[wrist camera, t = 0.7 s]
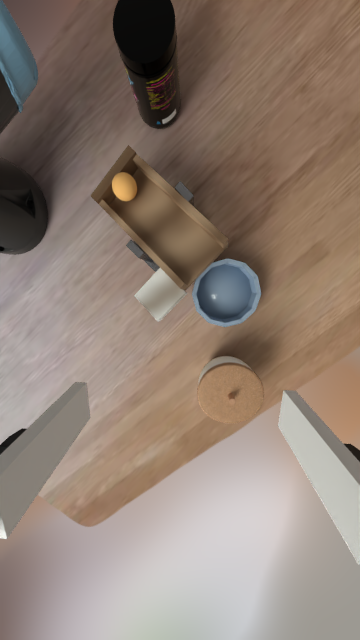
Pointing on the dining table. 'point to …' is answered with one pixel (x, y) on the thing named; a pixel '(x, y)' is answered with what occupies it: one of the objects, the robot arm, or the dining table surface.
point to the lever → (161, 232)
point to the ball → (124, 186)
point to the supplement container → (150, 57)
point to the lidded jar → (229, 390)
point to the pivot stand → (138, 250)
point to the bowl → (226, 292)
